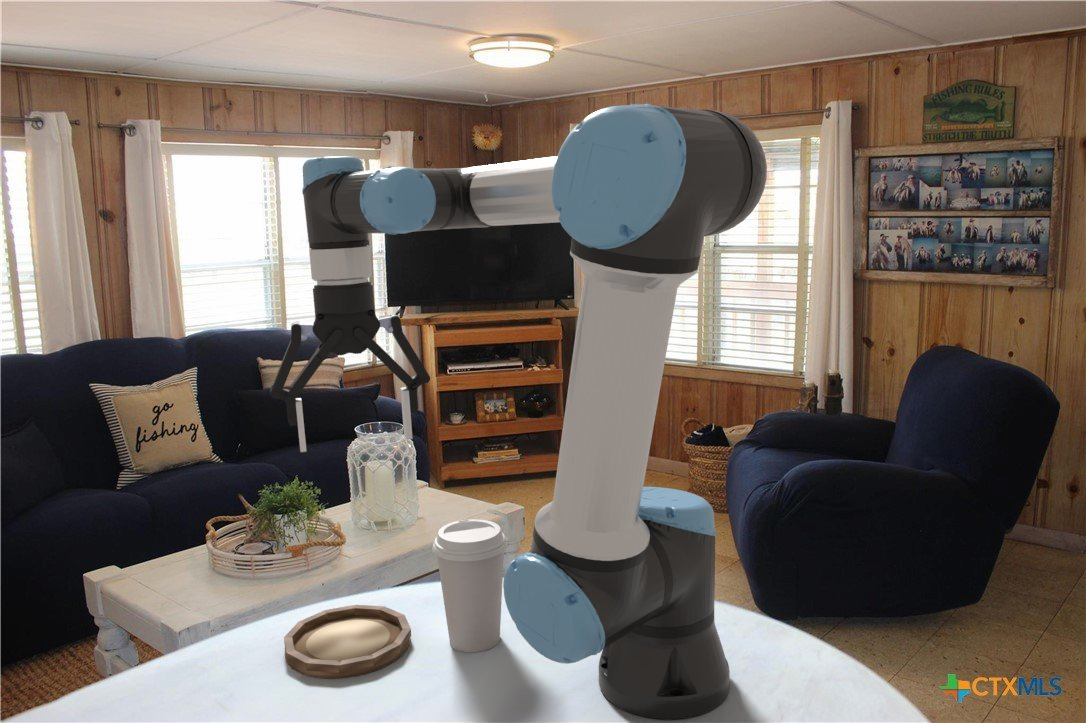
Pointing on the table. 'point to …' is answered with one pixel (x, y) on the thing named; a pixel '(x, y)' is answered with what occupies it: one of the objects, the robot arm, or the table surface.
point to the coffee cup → (471, 581)
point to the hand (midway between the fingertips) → (356, 443)
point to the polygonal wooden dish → (347, 641)
